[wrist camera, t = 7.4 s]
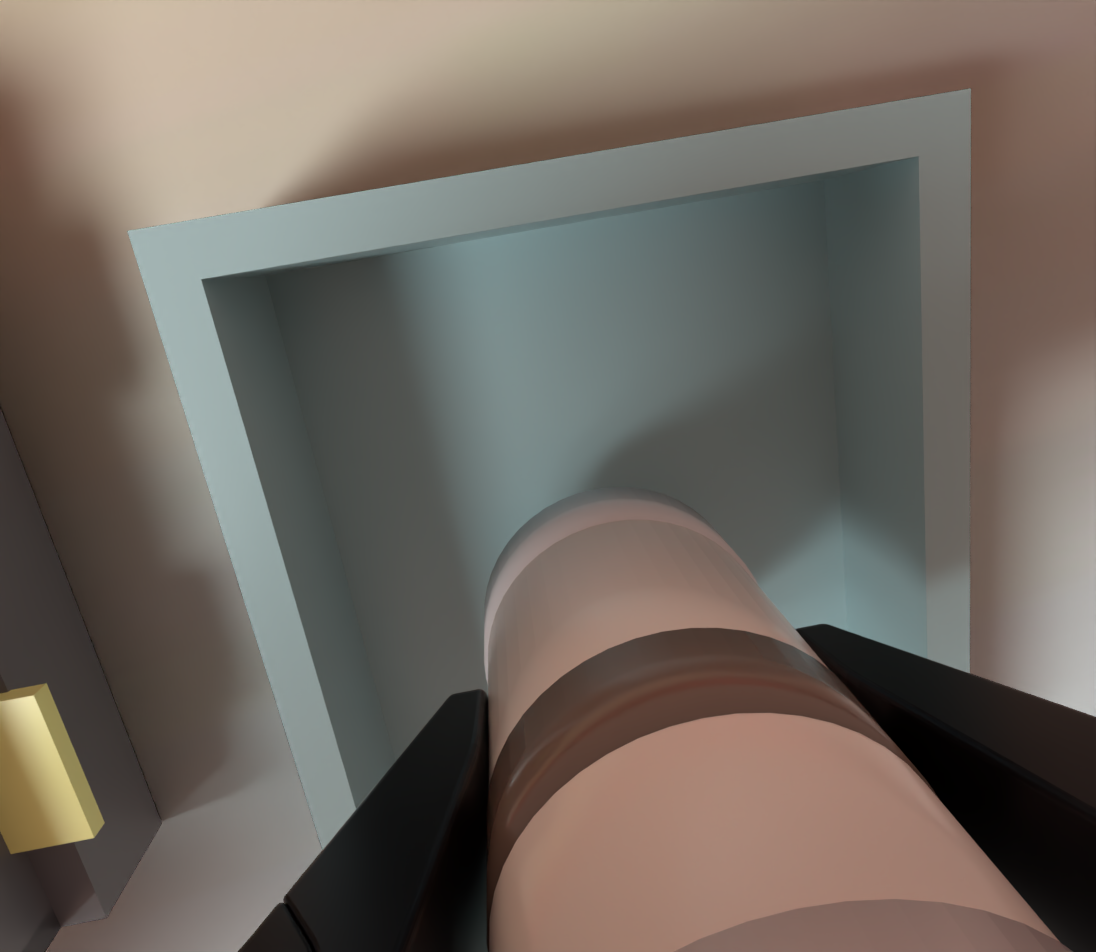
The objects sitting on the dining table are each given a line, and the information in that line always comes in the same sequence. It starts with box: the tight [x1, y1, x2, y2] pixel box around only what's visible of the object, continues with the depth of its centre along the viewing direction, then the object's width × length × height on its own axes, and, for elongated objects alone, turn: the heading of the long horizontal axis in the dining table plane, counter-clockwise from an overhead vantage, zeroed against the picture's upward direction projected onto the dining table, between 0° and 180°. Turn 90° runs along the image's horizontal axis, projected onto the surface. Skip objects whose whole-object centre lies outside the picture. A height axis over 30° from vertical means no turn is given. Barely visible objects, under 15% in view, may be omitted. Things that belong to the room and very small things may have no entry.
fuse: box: [484, 487, 1073, 952], centre depth 7 cm, size 4×4×8 cm
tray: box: [127, 88, 971, 850], centre depth 11 cm, size 12×9×3 cm
